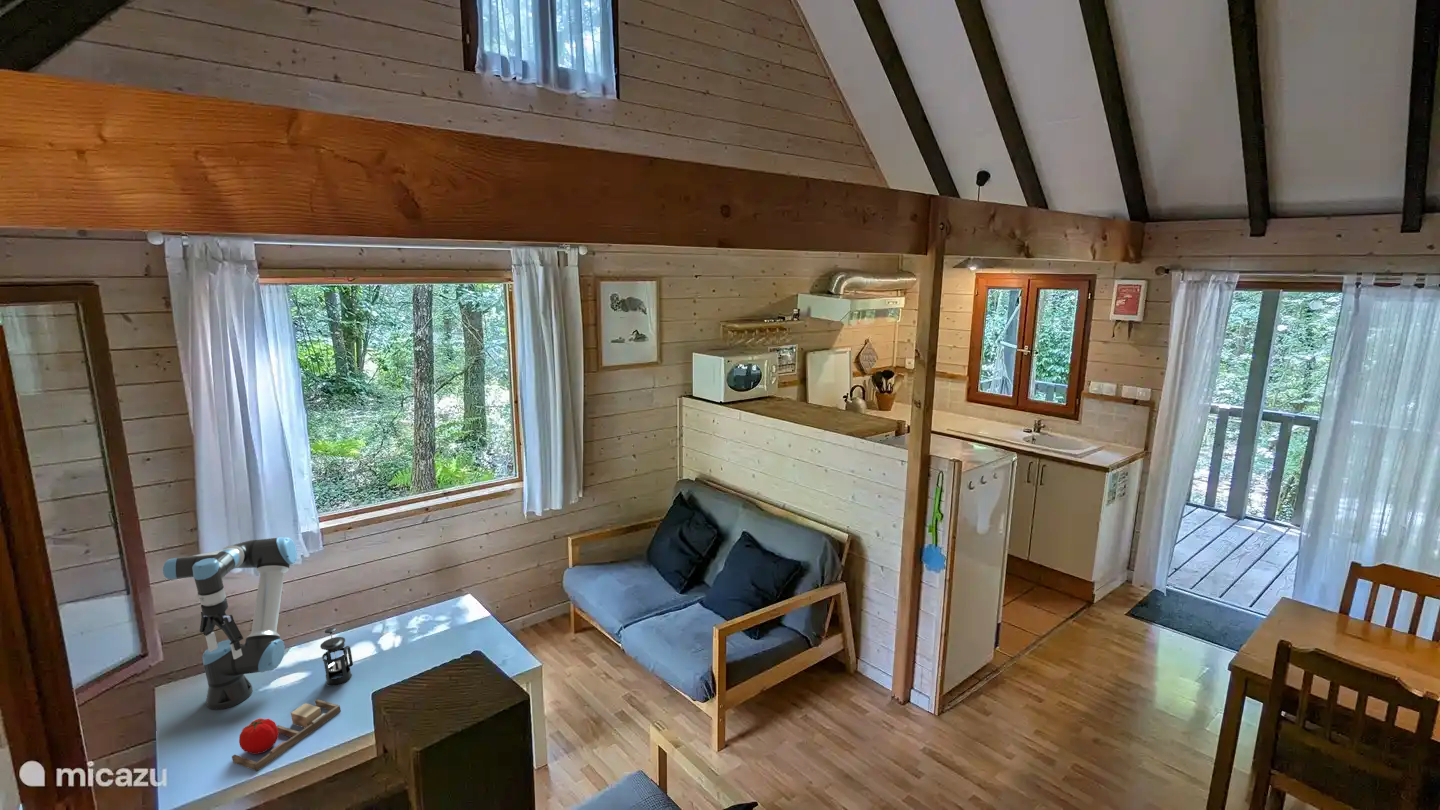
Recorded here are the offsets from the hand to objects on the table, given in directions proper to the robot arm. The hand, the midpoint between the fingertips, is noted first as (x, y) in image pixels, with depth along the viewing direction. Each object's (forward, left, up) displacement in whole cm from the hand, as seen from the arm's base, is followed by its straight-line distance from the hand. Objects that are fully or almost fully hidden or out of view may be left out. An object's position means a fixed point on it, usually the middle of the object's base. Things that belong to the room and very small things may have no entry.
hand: (225, 653), depth 250 cm
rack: (+23, +2, -31) cm, 38 cm away
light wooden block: (+22, +10, -31) cm, 39 cm away
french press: (+10, +34, -31) cm, 47 cm away
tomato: (+19, -6, -31) cm, 37 cm away
